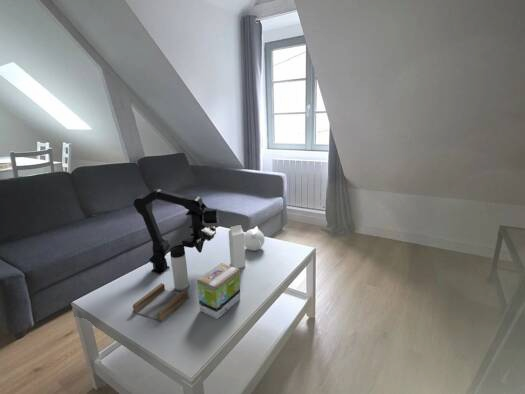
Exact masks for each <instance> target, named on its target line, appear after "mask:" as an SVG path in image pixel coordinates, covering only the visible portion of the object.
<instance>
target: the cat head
mask: <svg viewBox="0 0 525 394" xmlns="http://www.w3.org/2000/svg"><path fill="white" fill-rule="evenodd" d="M264 244H265V235H264V233H263V232H262V231H261V230H260V229H259V227H258V226H255V227H254V228H252V229H248V230H247V231H246V232H244V248H246V249H247V250H249V251H253V252H256V251H258V250H261V248H262V247H263V245H264Z"/></svg>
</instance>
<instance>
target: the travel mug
mask: <svg viewBox="0 0 525 394" xmlns="http://www.w3.org/2000/svg"><path fill="white" fill-rule="evenodd" d="M185 248H186V247H184V246H183V245H182V243H181V244H176V245H174V246H172V247H170V250H169V252H170V261H171V270H172V278H173V285H174V286H173V287H174V290H175V291H177V292H182V291H183V290H188V288H189V286H190V284H189V275H188V274H189V273H188V266H187V265H188V264H187V258H186V250H185Z"/></svg>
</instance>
